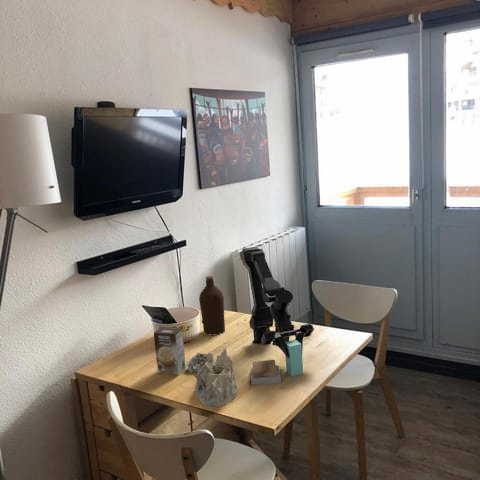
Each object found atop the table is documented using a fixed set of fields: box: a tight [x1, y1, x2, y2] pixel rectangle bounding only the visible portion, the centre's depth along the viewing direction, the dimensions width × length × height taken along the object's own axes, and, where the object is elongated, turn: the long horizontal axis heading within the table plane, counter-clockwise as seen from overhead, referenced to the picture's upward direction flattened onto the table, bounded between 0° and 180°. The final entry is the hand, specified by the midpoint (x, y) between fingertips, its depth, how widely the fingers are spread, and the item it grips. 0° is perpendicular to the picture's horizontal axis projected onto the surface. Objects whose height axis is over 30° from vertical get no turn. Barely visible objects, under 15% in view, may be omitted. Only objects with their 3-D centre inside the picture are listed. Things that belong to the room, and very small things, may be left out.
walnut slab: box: [252, 359, 277, 378], centre depth 184 cm, size 8×8×2 cm
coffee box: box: [153, 326, 187, 376], centre depth 195 cm, size 9×6×16 cm
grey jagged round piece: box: [194, 347, 239, 408], centre depth 174 cm, size 16×16×15 cm
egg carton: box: [185, 352, 208, 374], centre depth 198 cm, size 11×8×4 cm
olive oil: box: [198, 275, 226, 336], centre depth 231 cm, size 11×11×25 cm
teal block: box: [284, 339, 304, 377], centre depth 186 cm, size 4×4×11 cm
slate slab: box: [250, 364, 282, 385], centre depth 185 cm, size 10×10×2 cm
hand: (295, 356), depth 184 cm, fingers closed on teal block, 4 cm apart
